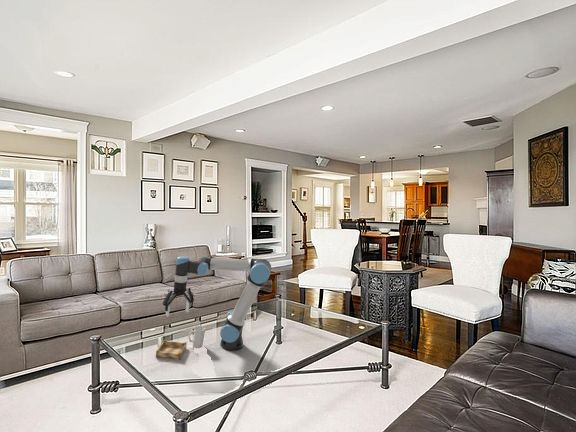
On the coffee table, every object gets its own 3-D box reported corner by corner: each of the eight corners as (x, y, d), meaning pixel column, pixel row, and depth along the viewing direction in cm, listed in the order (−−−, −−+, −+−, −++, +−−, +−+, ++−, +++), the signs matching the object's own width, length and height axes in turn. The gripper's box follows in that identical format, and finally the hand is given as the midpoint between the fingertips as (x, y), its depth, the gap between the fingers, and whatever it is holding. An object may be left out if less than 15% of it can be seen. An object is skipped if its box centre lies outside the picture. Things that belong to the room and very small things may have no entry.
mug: (202, 343, 229) (204, 326, 228) (203, 348, 223) (205, 330, 222) (186, 343, 226) (188, 326, 225) (187, 348, 220) (189, 330, 218)
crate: (185, 348, 220) (186, 342, 220) (180, 360, 206) (181, 353, 205) (163, 345, 219) (163, 339, 219) (155, 357, 205) (156, 350, 204)
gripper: (195, 277, 228) (192, 308, 230) (158, 281, 210) (155, 315, 212) (201, 280, 223) (198, 312, 225) (164, 285, 205) (161, 319, 207)
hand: (177, 313), depth 218 cm, fingers open, 13 cm apart
